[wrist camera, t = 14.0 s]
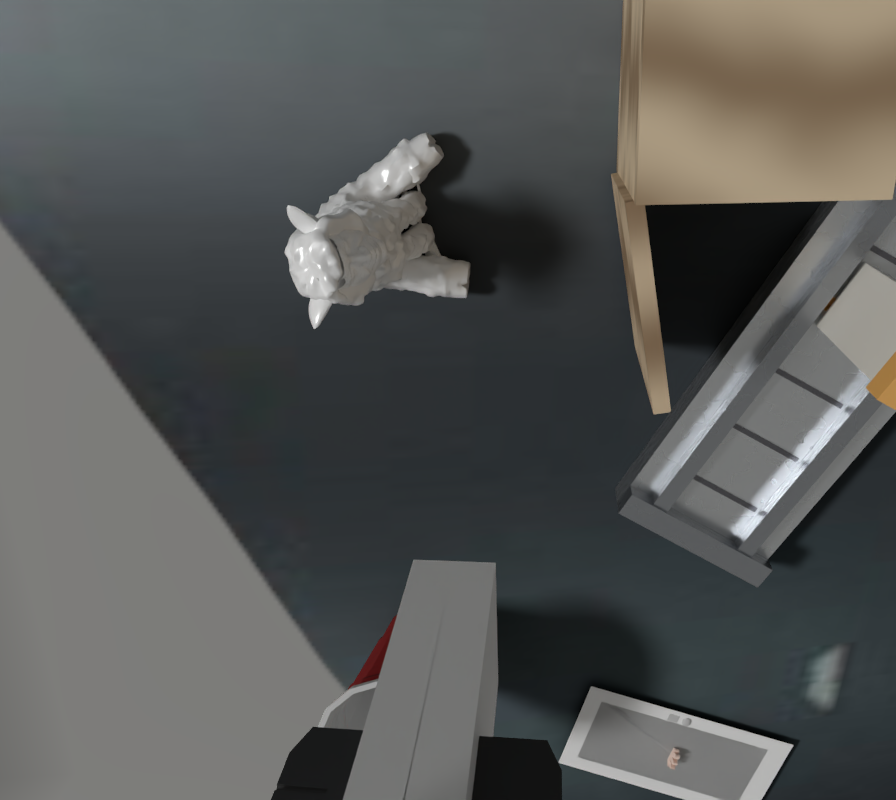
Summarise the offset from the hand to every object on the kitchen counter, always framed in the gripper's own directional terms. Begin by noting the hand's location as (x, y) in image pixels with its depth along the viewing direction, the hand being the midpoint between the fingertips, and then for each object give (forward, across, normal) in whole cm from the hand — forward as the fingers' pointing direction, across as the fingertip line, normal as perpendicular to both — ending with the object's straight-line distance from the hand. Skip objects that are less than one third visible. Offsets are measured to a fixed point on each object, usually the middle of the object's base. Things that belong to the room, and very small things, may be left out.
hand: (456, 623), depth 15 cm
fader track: (+34, +16, -8) cm, 39 cm away
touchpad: (+35, +11, -38) cm, 53 cm away
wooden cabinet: (+34, +10, +4) cm, 36 cm away
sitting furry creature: (+35, -8, +1) cm, 36 cm away
